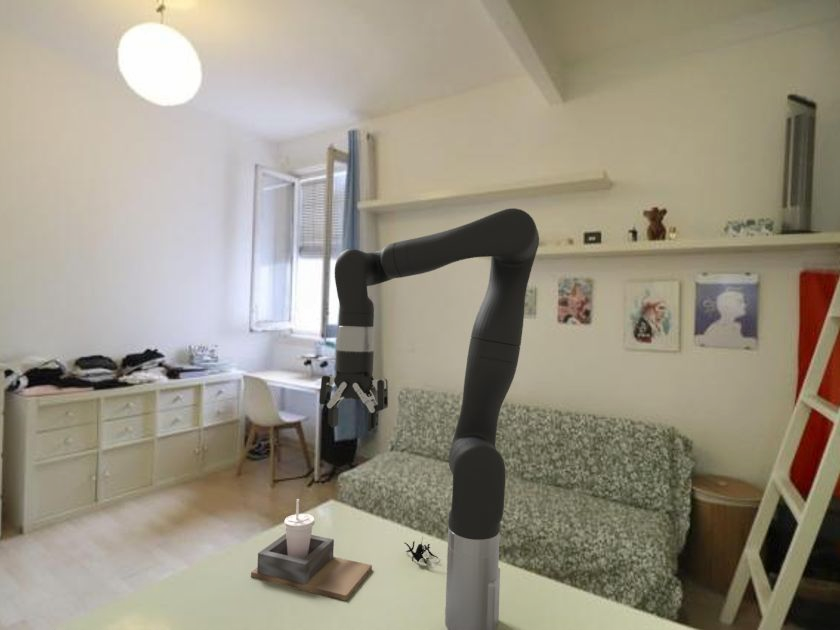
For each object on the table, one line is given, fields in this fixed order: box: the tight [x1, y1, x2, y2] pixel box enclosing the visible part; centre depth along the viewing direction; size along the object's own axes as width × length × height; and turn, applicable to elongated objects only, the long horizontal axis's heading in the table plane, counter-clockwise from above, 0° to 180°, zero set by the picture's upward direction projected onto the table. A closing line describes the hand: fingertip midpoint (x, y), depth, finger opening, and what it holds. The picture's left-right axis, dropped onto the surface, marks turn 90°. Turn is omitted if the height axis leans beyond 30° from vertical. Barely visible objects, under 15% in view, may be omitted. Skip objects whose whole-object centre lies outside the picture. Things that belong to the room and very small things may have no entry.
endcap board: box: [250, 533, 373, 602], centre depth 98 cm, size 22×12×5 cm, turn 72°
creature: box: [404, 537, 438, 564], centre depth 106 cm, size 8×5×8 cm
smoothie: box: [283, 498, 315, 559], centre depth 100 cm, size 6×6×14 cm
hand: (352, 428), depth 94 cm, fingers open, 8 cm apart
